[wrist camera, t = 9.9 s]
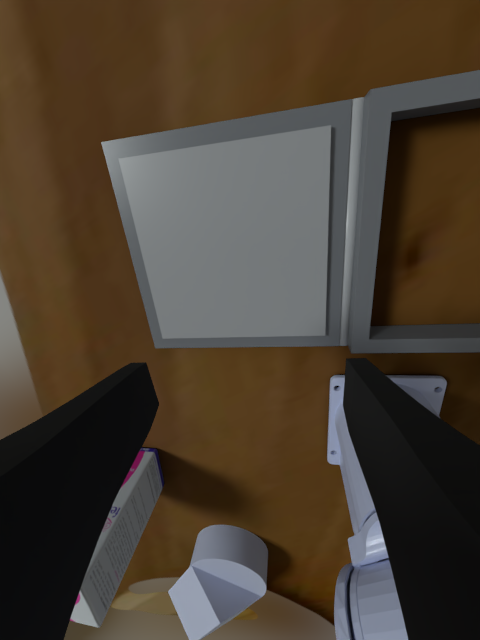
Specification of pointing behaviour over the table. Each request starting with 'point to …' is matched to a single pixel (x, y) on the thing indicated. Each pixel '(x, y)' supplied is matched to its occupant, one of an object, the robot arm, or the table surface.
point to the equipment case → (275, 224)
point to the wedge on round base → (220, 579)
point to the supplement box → (119, 538)
